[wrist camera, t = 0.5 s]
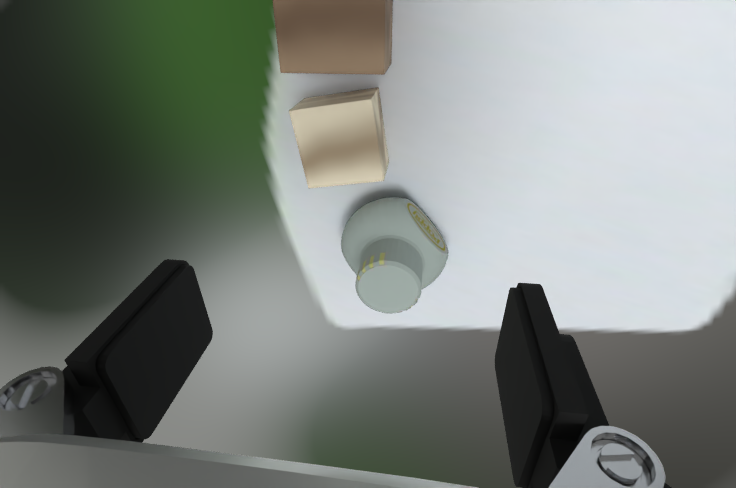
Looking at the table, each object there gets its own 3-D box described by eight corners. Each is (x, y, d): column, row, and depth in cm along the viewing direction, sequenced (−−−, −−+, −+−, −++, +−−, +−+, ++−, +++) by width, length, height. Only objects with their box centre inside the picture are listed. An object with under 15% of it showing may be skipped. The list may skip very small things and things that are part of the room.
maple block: (305, 97, 38) (288, 110, 33) (378, 87, 36) (371, 99, 32) (321, 168, 41) (308, 188, 37) (389, 161, 40) (383, 180, 35)
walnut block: (292, -49, 32) (266, -57, 27) (393, -51, 31) (386, -60, 26) (302, 61, 36) (280, 72, 31) (391, 63, 35) (384, 74, 30)
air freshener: (335, 218, 44) (312, 271, 35) (393, 174, 40) (383, 221, 32) (398, 284, 47) (391, 346, 39) (457, 248, 44) (463, 309, 35)
